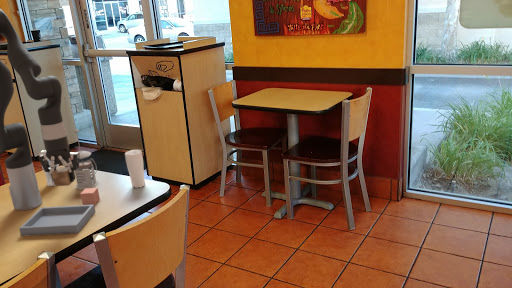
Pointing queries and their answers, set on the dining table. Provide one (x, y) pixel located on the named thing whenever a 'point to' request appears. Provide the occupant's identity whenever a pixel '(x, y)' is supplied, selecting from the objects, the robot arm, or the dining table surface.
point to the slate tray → (57, 220)
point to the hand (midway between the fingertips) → (64, 181)
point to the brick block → (90, 196)
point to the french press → (85, 171)
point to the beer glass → (48, 174)
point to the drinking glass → (135, 167)
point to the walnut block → (61, 177)
